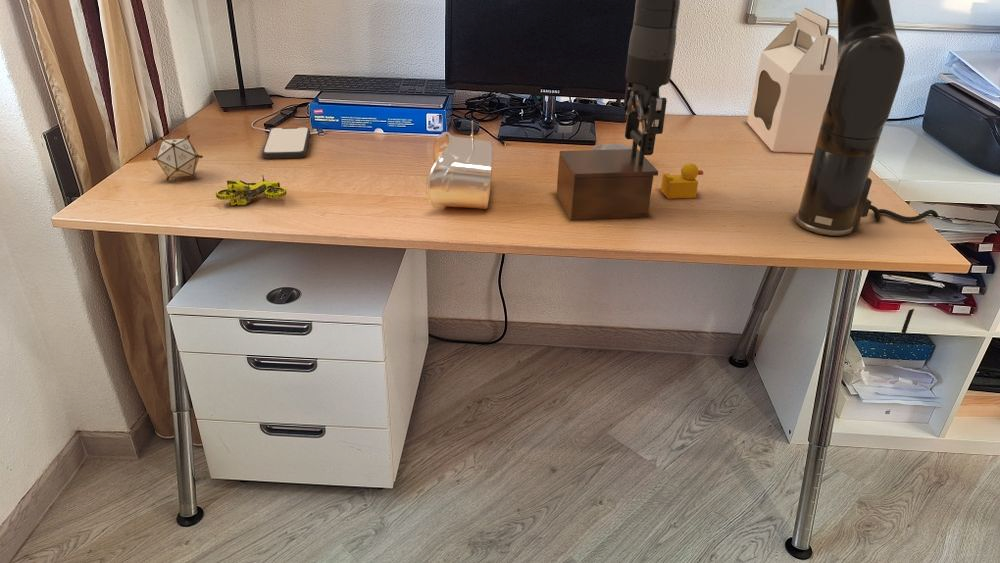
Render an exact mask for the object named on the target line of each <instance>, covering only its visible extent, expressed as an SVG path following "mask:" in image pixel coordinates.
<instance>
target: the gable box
mask: <svg viewBox="0 0 1000 563" xmlns="http://www.w3.org/2000/svg"><path fill="white" fill-rule="evenodd" d="M793 14H794V17H795V20H792V21H791V22H790V23H789V24H788V25H787V26H786V27H784V29H782V31H781V32H780V33H779V34H778V35H777V36H776V37H775V38H774V39H773V40H772V41H771V42H770V43H769V44H768V45H767V46H766V47H765V49H764V50H762V51H761V52H760V57H759V61H758V66H757V71H756V75H755V80H754V85H753V90H752V95H751V99H750V100H751V101H750V104H749V108H748V109H749V110H748V115H747V120H746V123H747V124H748V125H749V126H750V128H751V129H752V130H753V131H754V132H755V134H757V137H759V138H760V139H761V140H762V142H763V143H764V144H765V145H766V146H767V147H768V148H769V149H770V151H771V152H773V153H795V154H814V150H815V146H816V142H817V138H818V134H819V130H820V127H821V122H822V118H823V114H824V112H825V110H826V107H827V104H828V101H829V97H830V93H831V90H832V86H833V82H834V78H835V74H836V70H837V66H838V65H837V54H838V40H837V39H836V38H835V37H834V36H832V35H831V34H829V30H830V29H829V28H830V19H829V18H827V17H825V16H823V15H822V14H819V13H817V12H815V11H813V10H811V9H809V8H807V7H803V8H802V9H801V11H800V14H799V13H797V12H794V13H793ZM812 38H814V39H815V40H814V41H813V39H812Z"/></svg>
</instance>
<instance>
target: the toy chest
mask: <svg viewBox="0 0 1000 563" xmlns="http://www.w3.org/2000/svg"><path fill="white" fill-rule="evenodd" d="M653 183H654V176H627V177H595V178H574V176H573V175H572V173H571V172H570V170H569V169H568V167H567V166H566V164H565V163H564V161H563V160H562V158H561V156H560V155H558V166H557V182H556V197H557V198H558V200H559V201H560V203H561V205H562V207H563V209H564V210H565V212H566V214H567V216H568V217H569V219H570V221H582V220H584V221H585V220H608V219H635V218H648V217H649V211H650V203H651V196H652V189H653Z"/></svg>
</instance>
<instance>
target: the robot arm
mask: <svg viewBox="0 0 1000 563" xmlns="http://www.w3.org/2000/svg"><path fill="white" fill-rule="evenodd" d="M890 1H891V0H835V3H836V13H837V43H838V54H837V65H838V66H837V70H836V74H835V78H834V82H833V86H832V90H831V93H830V97H829V101H828V104H827V107H826V110H825V112H824V114H823V118H822V122H821V127H820V130H819V134H818V138H817V142H816V146H815V150H814V153H812V158H811V162H810V165H809V170H808V172H807V177H806V181H805V185H804V189H803V192H802V196H801V200H800V204H799V208H798V211H797V213H796V217H795V222H796V224H797V225H798V226H800V227H801V228H803V229H805V230H807V231H809V232H812V233H815V234H817V235H818V234H819V235H824V236H831V237H834V236H835V237H840V236H841V237H842V236H847V235H849V234H852V232H857V231H858V229H859V226H860V222H861V219H862V218H867V217H868V215H869V212H870V210H871V211H872V212H873V214H874V219H875V221H880V220H881V215H880V214H882V215H887V216H890V217H892V218H894V219H897V220H899V221H901V222H902V221H903V222H916V221H920V220H923V219H924V218H925V217H926V218H927V216H929V215H931V216H933V218H939V214H938V212H937V211H936V210H934V209H928V210H925V211H923V212H922V213H920V214H918V215H915V216H904V215H901V214H899V213H896V212H894V211H892V210H889V209H885V208H879V209H878V208H877V207H876V206H875V205H872V200H870V199H868V196H869V194H870V191H871V190H870V189H871V186H872V183H873V180H872V179H871V177H869V175H870V171H871V168H872V165H873V162H874V158H875V155H876V151H877V148H878V145H879V141H880V138H881V135H882V132H883V129H884V126H885V124H886V123H887V121H888V119H889V116H890V114H891V111H892V108H893V104H894V102H895V98H896V95H897V92H898V90H899V86H900V83H901V80H902V76H903V73H904V69H905V64H906V54H905V50H904V47H903V45H902V43H901V42H900V40H899V38H898V34H897V31H896V27H895V23H894V18H893V12H892V7H891V2H890ZM680 6H681V0H635V6H634V15H633V23H632V28H631V32H630V35H629V42H628V50H627V58H626V67H625V74H624V75H625V76H624V78H625V80H626V85H625V91H624V92H625V93H624V98H623V105H622V110H623V112H625V118H626V122H625V123H626V124H625V130H624V138H625V139H626V140H633V139H632V138H631V137H630V133H631V131H632V130H633V129H639V130H640V123H641V132H642V138H641V146H640V147H639V151H640V154H641V155H644V156H652V155H653V154H654V150H655V143H656V135H662V134H663V132H664V126H665V117H666V110H667V101H668V100H667V97H661V96H660V88H661V87H662V86H666V85H668V84H669V83H670V81H671V77H672V70H673V63H674V58H675V50H676V44H677V30H678V29H677V26H678V21H679V13H680V9H681V8H680ZM914 311H915V308H912V309H908V312H907V315H906V317H905V320H904V322H903V326H902V328H901V333H902V334H906V333H907V330H908V328H909V324H910V322H911V319H912V316H913V314H914Z"/></svg>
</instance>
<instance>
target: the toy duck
mask: <svg viewBox="0 0 1000 563" xmlns="http://www.w3.org/2000/svg"><path fill="white" fill-rule="evenodd" d="M703 175H704V171H703V170H701V169H699V167H698V166H697V165H696V164H695V163H690V162H688V163H685V164H684V165H683V166H682V167H681V169H680V174H671V173H669V172H665V173H663V174H662V178H661V186H660V192H661V193H662V194H663V195H664V196H665V198H667V199H693V198H694V199H695V198H696V197H697V192H698V187H699V181H698V180H697V179H696V178H697V177H698V176H703Z"/></svg>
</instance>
